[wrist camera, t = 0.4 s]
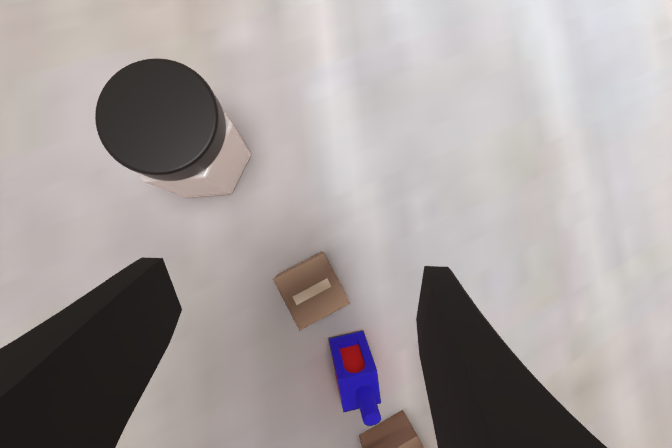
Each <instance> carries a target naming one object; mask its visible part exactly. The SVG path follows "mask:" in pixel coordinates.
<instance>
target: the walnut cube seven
mask: <svg viewBox="0 0 672 448" xmlns="http://www.w3.org/2000/svg"><path fill="white" fill-rule="evenodd" d="M359 436H360V440H361V443H362V447H363V448H424V447H423V446H422V444H421V442H420V440H419V438H418V436H417V434H416V432H415V431H414V429H413V427H412V425H411V424H410V422H409V420H408V419H407V417H406V415H405V413H404V412H403V410H402V411H400V412H398V413H397V414H395V415H393V416H392V417H390V418H388V419H386V420H385V421H383V422H381V423H380V424H378V425H376V426H374V427H373V428H371V429H369V430H368V431H366V432H364V433H362V434H361V435H359Z"/></svg>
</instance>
